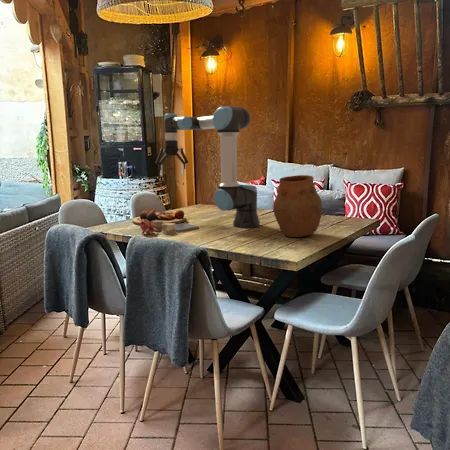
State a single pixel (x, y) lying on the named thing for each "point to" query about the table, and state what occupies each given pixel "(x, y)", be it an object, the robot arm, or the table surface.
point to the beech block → (168, 228)
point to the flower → (147, 226)
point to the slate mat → (185, 227)
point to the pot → (297, 206)
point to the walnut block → (158, 225)
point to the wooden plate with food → (161, 216)
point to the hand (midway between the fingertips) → (172, 175)
